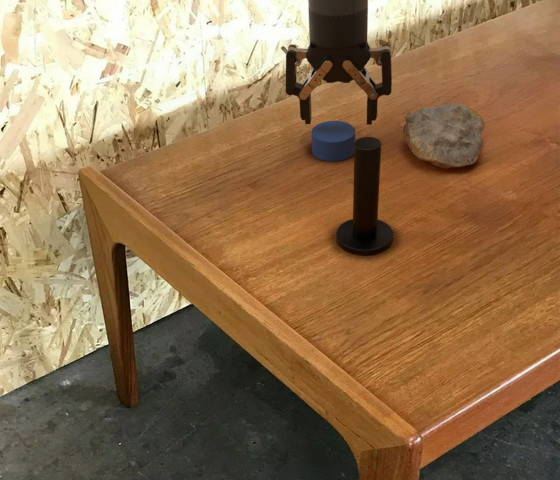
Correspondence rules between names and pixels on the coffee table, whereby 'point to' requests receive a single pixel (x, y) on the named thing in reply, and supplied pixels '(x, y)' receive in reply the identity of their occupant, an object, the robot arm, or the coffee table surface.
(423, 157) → the fossil
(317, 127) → the disc
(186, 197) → the coffee table surface
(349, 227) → the post stand
